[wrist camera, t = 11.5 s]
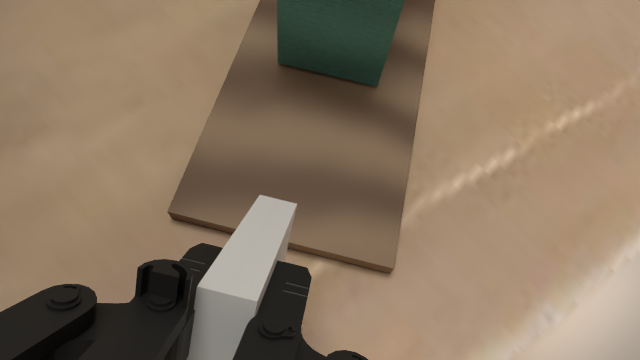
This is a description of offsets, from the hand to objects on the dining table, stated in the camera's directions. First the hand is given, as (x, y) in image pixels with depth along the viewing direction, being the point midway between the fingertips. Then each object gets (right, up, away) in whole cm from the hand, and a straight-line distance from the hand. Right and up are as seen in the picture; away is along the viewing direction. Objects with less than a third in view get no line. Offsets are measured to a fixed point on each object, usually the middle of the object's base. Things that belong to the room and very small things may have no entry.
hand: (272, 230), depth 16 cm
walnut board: (+3, +12, +15) cm, 20 cm away
